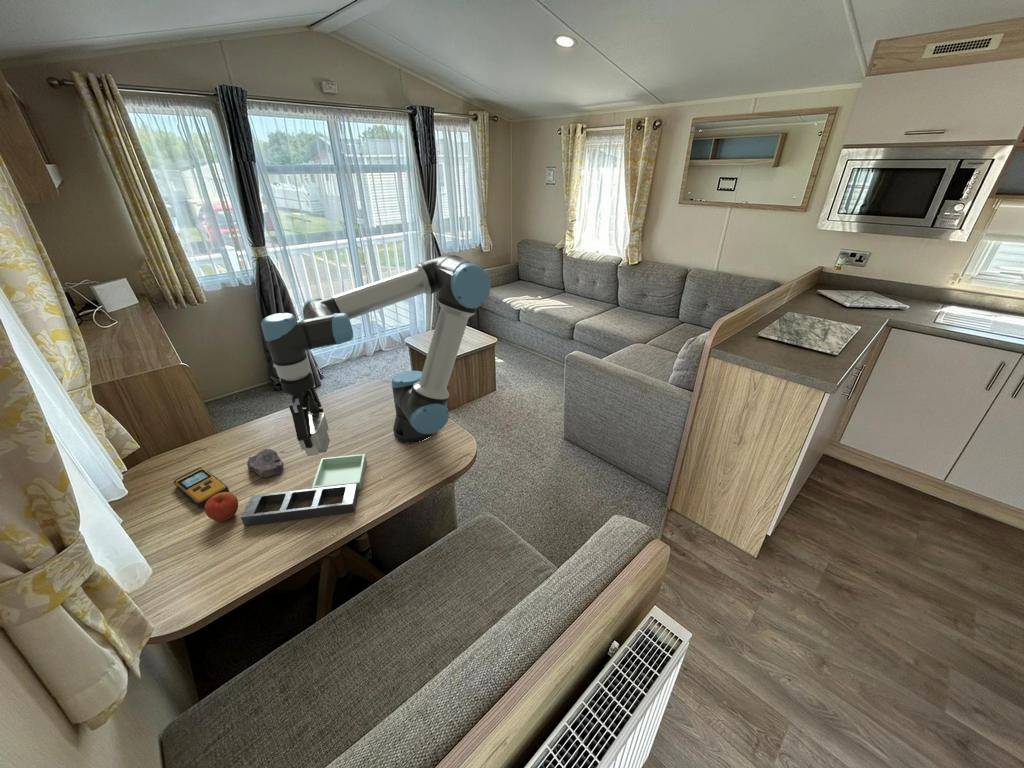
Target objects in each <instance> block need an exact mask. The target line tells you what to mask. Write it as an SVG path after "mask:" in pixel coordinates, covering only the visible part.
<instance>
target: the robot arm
mask: <svg viewBox="0 0 1024 768" xmlns="http://www.w3.org/2000/svg"><path fill="white" fill-rule="evenodd" d="M435 293H438V297H437V300H436V301H437V303H438V305H439V307H440V309H439V313H438V317H437V321H436V324H435V327H434V331H433V334H432V338H431V341H430V345H429V348H428V351H427V355H426V358H425V360H424V365H423V367H422V371H420V370H407V371H402V372H399V373H397V374H396V375H395V376H393V377H392V379H391V388H392V394H393V396H392V397H393V401H394V409H395V414H396V415H395V419H394V422H393V423H394V424H393V428H392V429H393V435H394V437H395V439H397V440H398V441H400V442H401V443H405V442H409V443H408V444H412V443H411V442H418V443H420V442H419V441H422V440H424V439H426V438H428V437H430V436H431V435H432V434H433V433H435V434H436V433H437V432H438V431H440V430H442V429H443V428H445V427H446V425H447V423H449V419H450V411H449V409H448V408H447V404H448V401H449V398H450V393H449V390H448V389H447V387H448V385H449V381H450V378H451V375H452V372H453V369H454V366H455V363H456V360H457V357H458V354H459V353H458V352H459V350H460V346H461V344H462V340H463V337H464V335H465V331H466V327H467V324H468V321H469V318H471V317H472V316H474V315H476V313H477V309H478V308H479V307H481V306H482V304H485V303H486V301H487V300H488V299H489V296H490V294H491V281H490V277H489V275H488V274H487V272H486V271H485V269H484V268H482V267H481V266H480V265H478V264H477V263H475V262H473V261H470V260H468V259H465V258H463V257H461V256H458V255H456V254H447V255H441V256H438V257H435V258H431V259H428V260H426V261H421V262H419V263H417V264H415V267H414V268H413V269H410V270H406V271H404V272H401V273H397V274H395V275H392V276H389V277H386V278H383V279H380V280H378V281H375V282H371V283H368V284H366V285H362V286H358V287H356V288H354V289H350V290H348V291H344V292H342V293H338V294H336V295H332V296H329V297H326V298H319V297H314V298H313V297H312V298H310V299H308V300H306V301H305V302H304V304H303V306H302V315H303V319H297V318H296V317H295V315H294V314H293V313H291V312H290V313H289V312H283V313H282V312H278V313H273V314H270V315H268V316H266V317H264V318H263V319H262V320H261V323H260V326H261V329H262V333H263V337H264V340H265V342H266V346H267V349H268V351H269V354H270V356H271V359H272V362H273V368H275V370H276V374H277V376H278V378H279V379H278V380H279V382H280V386H281V389H282V391H283V392H284V393H286V394H289V395H290V396H292V397H291V400H292V401H291V402H292V405H289V410H290V413H291V416H292V420H293V421H292V422H293V425H294V428H295V429H294V430H295V433H296V439H297V442H299V441H302V440H303V443H304V446H305V449H306V451H305V453H306V452H307V454H306V456H308V457H313V456H319V455H320V453H319V451H318V448H317V445H316V442H315V439H314V436H313V434H311V428H310V420H309V415H316V414H322V413H324V408H323V407H322V403H321V401H320V398H319V396H318V394H317V392H316V389H315V387H314V386H315V379H314V376H313V372H312V368H311V365H310V362H309V358H308V355H307V353H306V351H310V350H315V349H319V348H320V349H321V348H323V347H324V348H325V347H330V346H335V345H341V344H344V343H347V342H350V341H352V340H353V339H354V331H353V330H354V329H353V326H352V322H351V320H352V319H355V318H357V317H360V316H364V315H366V314H368V313H372V312H374V311H377V310H381V309H383V308H386V307H388V306H389V307H390V306H391V305H394V304H397V303H400V302H402V301H405V300H408V299H411V298H413V297H416V296H420V295H423V294H425V295H428V296H430V295H432V294H435ZM309 413H310V414H309ZM422 442H423V441H422Z"/></svg>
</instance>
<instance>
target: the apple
mask: <svg viewBox="0 0 1024 768" xmlns="http://www.w3.org/2000/svg"><path fill="white" fill-rule="evenodd" d="M238 508H239V499H238V497H237V496H236V495H235V494H234V493H232V492H231V491H229V492H222V493H218V494H216V495H214V496H212V497H211V498H210V499H209V500H208V501H207V502H206V504H205V508H203V510H204V513H205V514H206V516H207V517H208V518H209V519H211V520H212V521H215V522H224V521H227V520H229V519H231V518H233V517H234V516H235V515H236V513H237V512H238Z"/></svg>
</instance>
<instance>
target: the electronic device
mask: <svg viewBox="0 0 1024 768" xmlns="http://www.w3.org/2000/svg"><path fill="white" fill-rule="evenodd" d="M173 484H174V486H175V487H176V488H177V489H178V491H179V492H180V493H181V494H182V495H183V496H184V497H185V498H187V500H188V501H190V502H191V503H192V504H194V505H195V506H197V508H199V509H204V508H205V504H206V502H207V501H208V500H209V499H210V498H211V497H212V496H214V495H216V494H218V493H222V492H230V490H229V487H228V486H227V485H226V484H225V483H224V482H222V480H220V479H219V478H218V477H216V476H215V475H214V474H212V473H210V472H209V471H208V470H206V469H204V468H203V467H202V466H201V467H200V466H199V467H197V468H195V469H193V470H191V471H189V472H188V473H185V474H183V475H181V476H179V477H178V478H176V479H174V481H173Z"/></svg>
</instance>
